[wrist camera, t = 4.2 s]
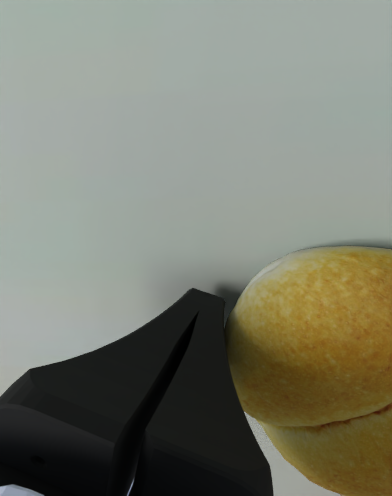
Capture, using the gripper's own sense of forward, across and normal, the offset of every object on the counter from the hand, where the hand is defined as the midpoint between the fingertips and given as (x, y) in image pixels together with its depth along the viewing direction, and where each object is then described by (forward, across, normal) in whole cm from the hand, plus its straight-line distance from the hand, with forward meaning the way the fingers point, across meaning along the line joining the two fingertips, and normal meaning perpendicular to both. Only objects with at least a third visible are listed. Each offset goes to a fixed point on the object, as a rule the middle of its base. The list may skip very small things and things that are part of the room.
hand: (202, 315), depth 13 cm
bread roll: (+1, -5, 0) cm, 6 cm away
